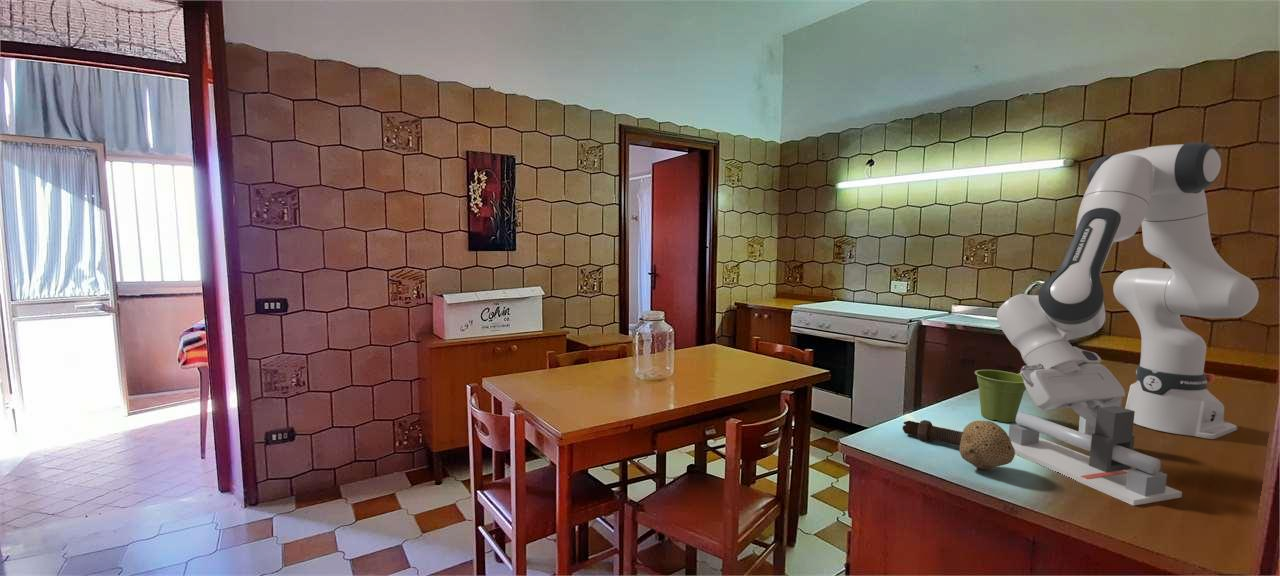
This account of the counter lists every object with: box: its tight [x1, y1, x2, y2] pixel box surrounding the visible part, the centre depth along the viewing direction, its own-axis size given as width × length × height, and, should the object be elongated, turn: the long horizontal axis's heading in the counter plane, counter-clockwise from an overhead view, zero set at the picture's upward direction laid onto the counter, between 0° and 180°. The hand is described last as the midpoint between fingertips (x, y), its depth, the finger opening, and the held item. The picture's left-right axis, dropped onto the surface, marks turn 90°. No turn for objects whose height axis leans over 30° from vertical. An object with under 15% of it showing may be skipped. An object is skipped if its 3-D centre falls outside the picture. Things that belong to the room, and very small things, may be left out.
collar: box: [1089, 406, 1136, 472], centre depth 99 cm, size 3×6×11 cm, turn 105°
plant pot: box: [974, 369, 1027, 423], centre depth 134 cm, size 12×12×11 cm
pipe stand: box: [1008, 411, 1183, 506], centre depth 105 cm, size 27×12×8 cm, turn 15°
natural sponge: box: [959, 420, 1016, 471], centre depth 104 cm, size 9×9×10 cm
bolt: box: [902, 419, 963, 447], centre depth 118 cm, size 6×5×15 cm
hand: (1101, 425), depth 101 cm, fingers closed, pressing on collar
